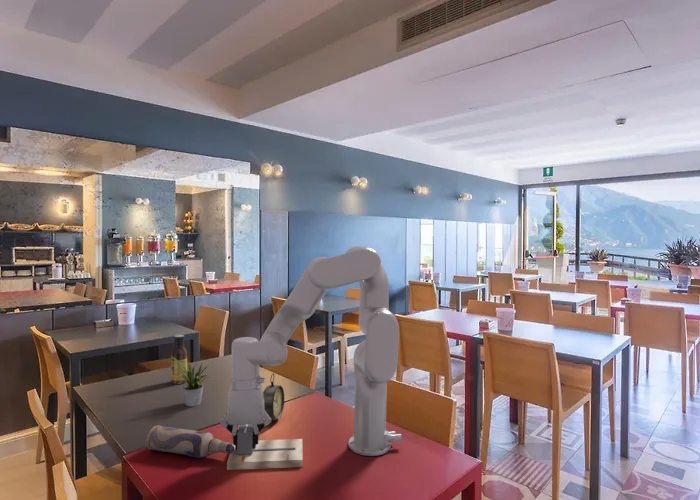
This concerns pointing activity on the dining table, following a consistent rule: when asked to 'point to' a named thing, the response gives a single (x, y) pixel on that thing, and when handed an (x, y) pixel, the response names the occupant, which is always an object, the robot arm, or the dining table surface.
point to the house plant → (192, 385)
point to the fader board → (269, 455)
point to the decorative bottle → (185, 442)
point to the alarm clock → (274, 400)
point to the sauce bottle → (178, 359)
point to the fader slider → (245, 439)
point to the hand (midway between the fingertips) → (245, 446)
